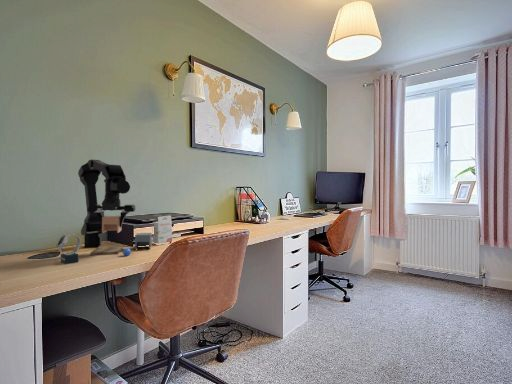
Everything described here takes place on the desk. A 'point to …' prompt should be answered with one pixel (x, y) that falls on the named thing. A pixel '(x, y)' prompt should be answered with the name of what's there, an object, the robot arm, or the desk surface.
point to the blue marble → (126, 251)
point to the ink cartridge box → (162, 230)
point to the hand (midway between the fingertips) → (112, 227)
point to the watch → (68, 257)
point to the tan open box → (111, 223)
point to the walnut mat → (106, 250)
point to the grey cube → (143, 239)
